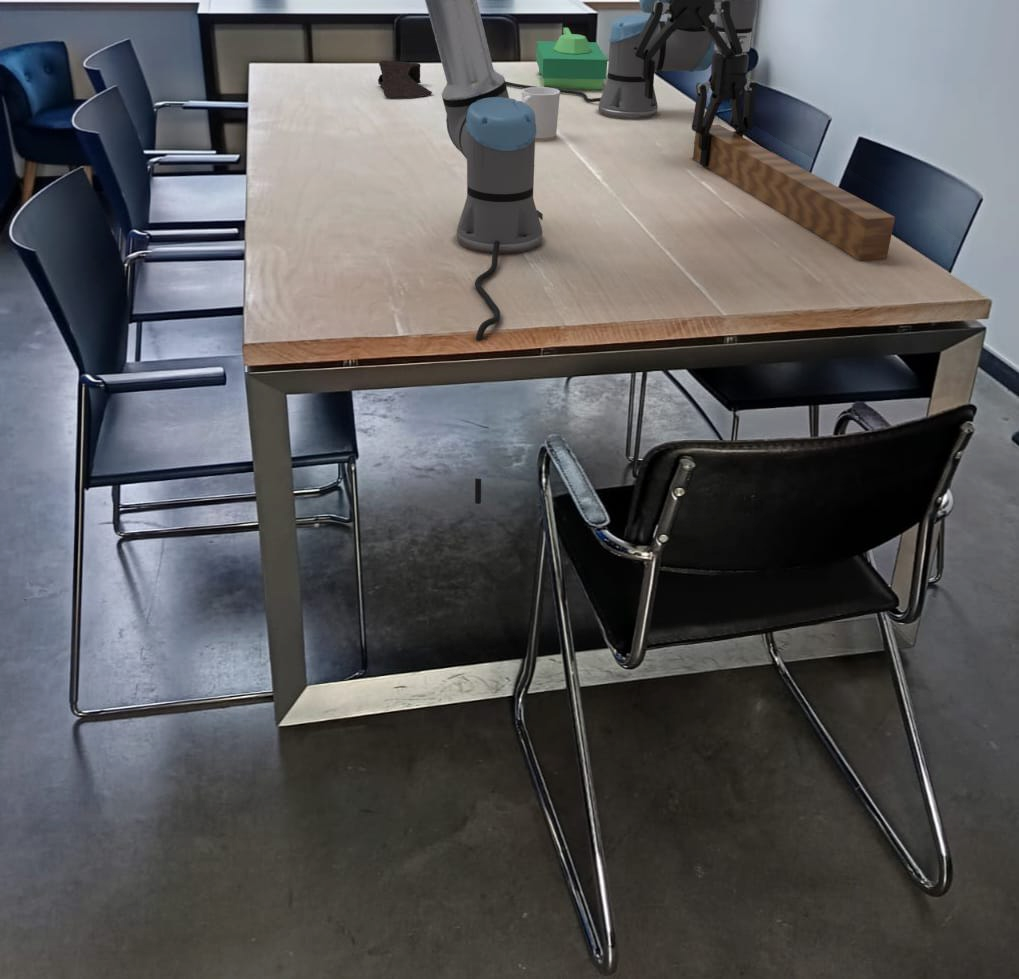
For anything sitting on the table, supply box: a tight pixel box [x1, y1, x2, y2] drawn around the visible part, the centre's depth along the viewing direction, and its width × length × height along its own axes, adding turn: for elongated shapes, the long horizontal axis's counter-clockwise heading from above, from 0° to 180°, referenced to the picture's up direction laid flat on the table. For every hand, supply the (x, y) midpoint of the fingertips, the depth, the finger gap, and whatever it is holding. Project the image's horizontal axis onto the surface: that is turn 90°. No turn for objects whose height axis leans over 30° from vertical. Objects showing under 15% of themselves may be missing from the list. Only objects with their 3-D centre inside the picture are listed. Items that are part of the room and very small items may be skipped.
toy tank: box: [535, 27, 608, 90], centre depth 315 cm, size 18×12×35 cm
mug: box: [521, 86, 561, 141], centre depth 257 cm, size 11×9×10 cm
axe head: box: [377, 59, 433, 99], centre depth 299 cm, size 18×8×15 cm
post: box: [692, 124, 896, 261], centre depth 217 cm, size 68×6×7 cm, turn 17°
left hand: (683, 96), depth 204 cm, fingers open, 13 cm apart
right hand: (717, 163), depth 241 cm, fingers open, 6 cm apart
